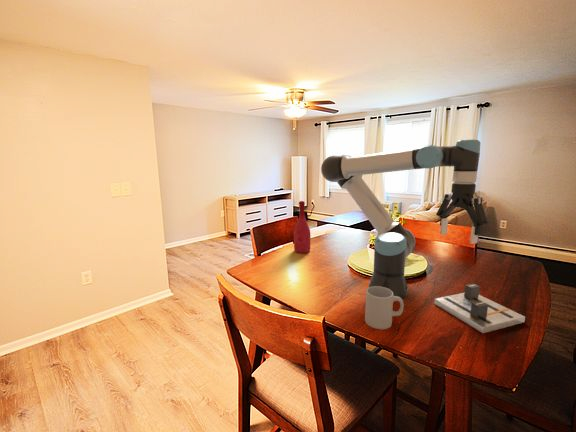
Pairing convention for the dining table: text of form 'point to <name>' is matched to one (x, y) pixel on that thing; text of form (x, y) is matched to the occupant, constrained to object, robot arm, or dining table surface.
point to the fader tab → (471, 291)
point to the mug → (381, 307)
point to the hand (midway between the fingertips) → (457, 238)
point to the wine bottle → (302, 232)
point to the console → (479, 312)
